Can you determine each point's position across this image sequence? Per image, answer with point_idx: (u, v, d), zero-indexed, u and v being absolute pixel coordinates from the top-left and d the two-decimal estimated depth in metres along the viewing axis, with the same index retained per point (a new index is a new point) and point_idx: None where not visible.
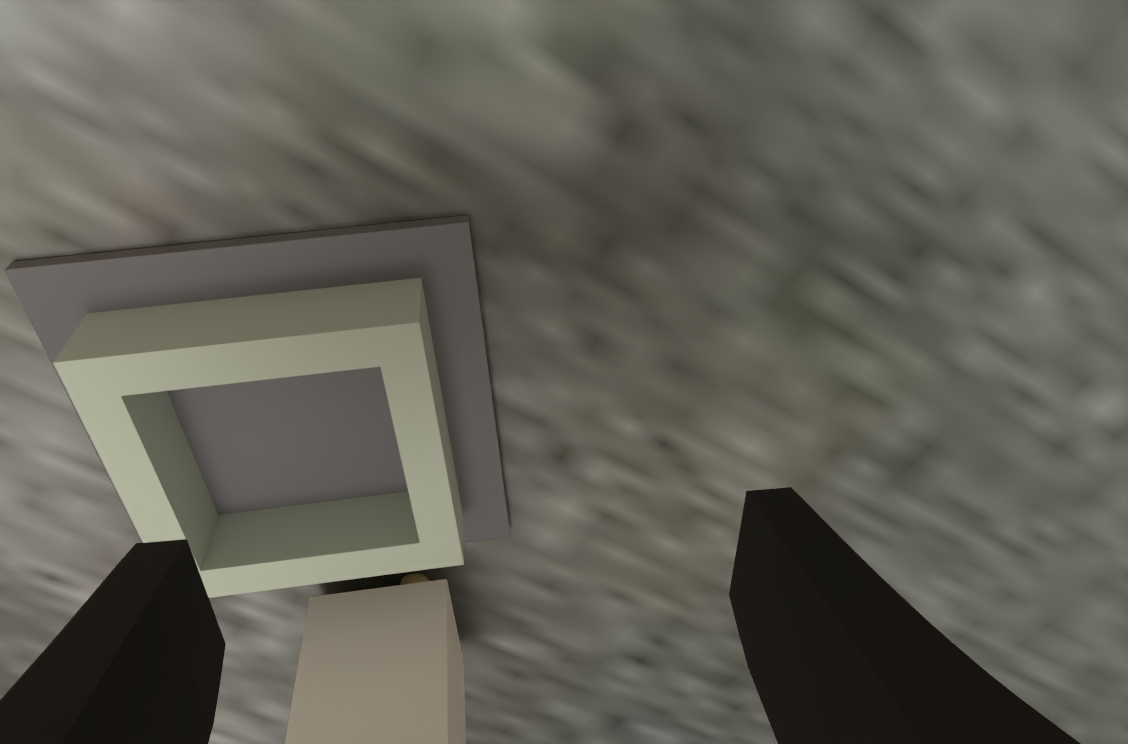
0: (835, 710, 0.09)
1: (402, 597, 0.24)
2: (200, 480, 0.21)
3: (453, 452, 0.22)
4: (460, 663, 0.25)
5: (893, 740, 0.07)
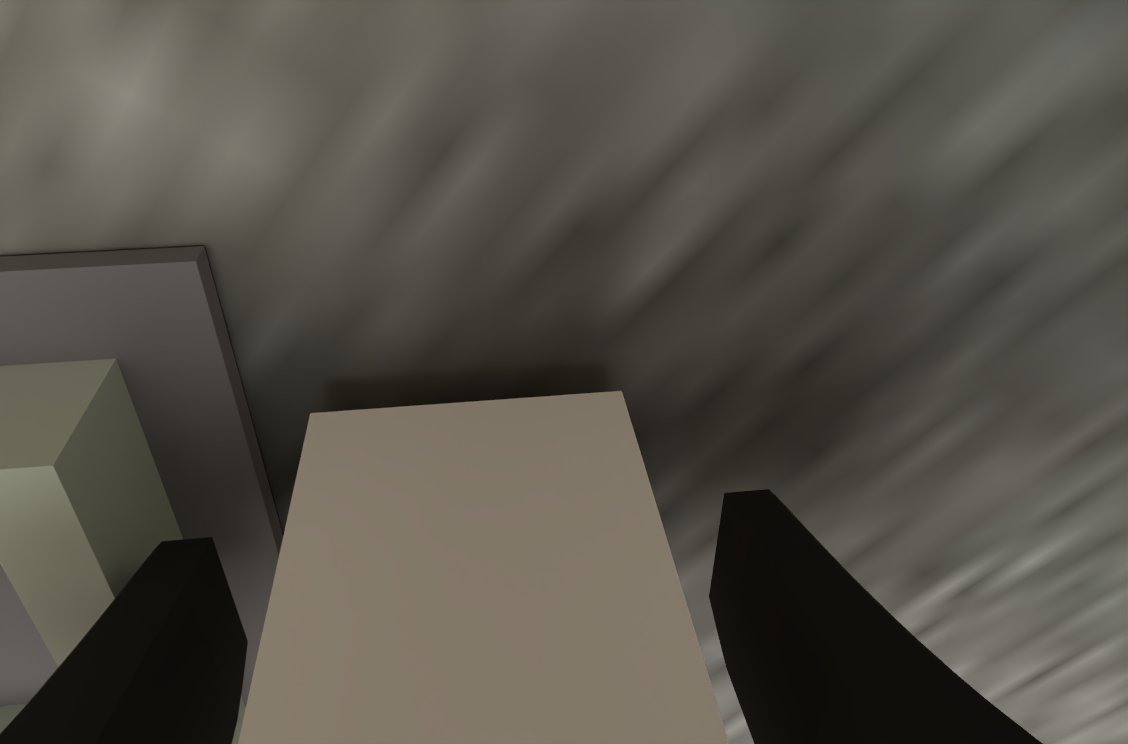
0: (808, 713, 0.09)
1: None
2: None
3: None
4: (554, 431, 0.10)
5: None
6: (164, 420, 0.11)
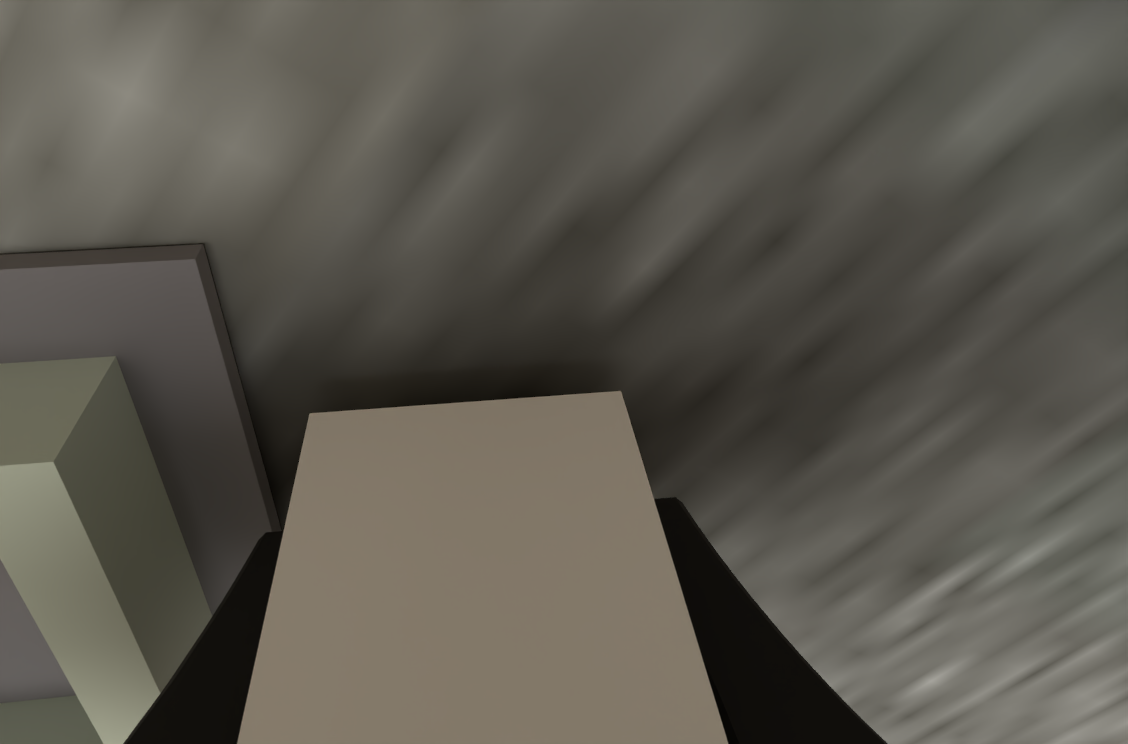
0: None
1: None
2: (79, 704, 0.13)
3: None
4: (553, 431, 0.10)
5: None
6: (163, 417, 0.11)
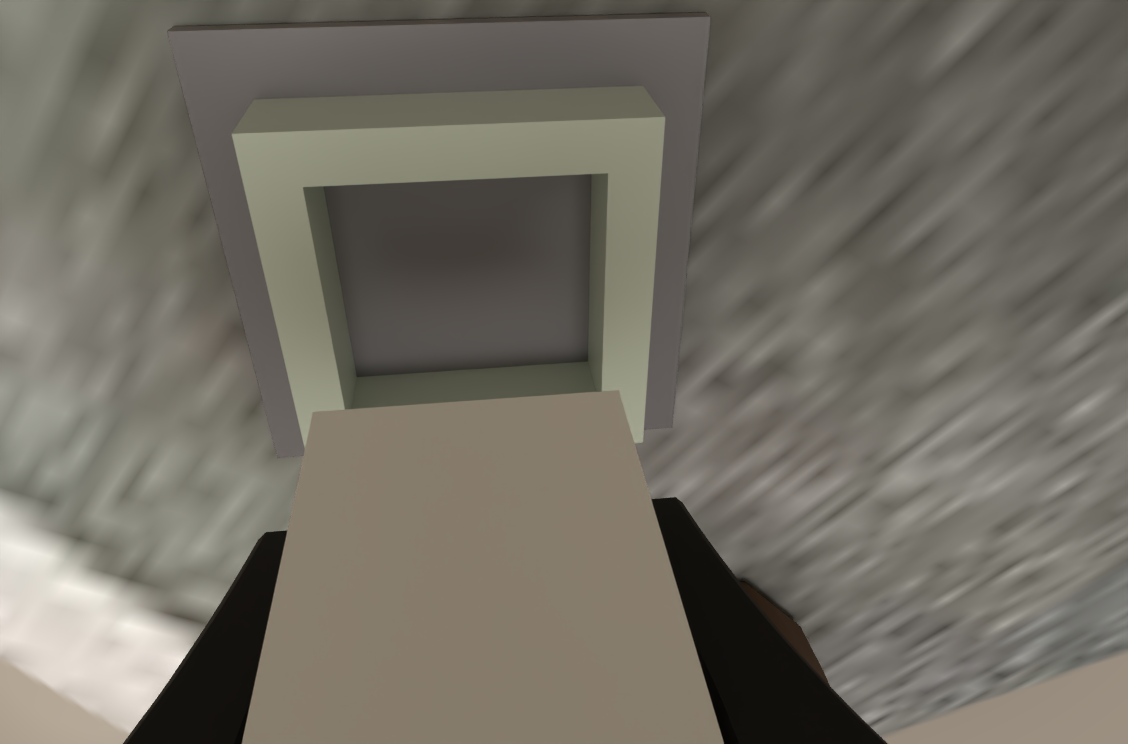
0: None
1: None
2: (530, 369, 0.20)
3: (534, 87, 0.16)
4: (552, 429, 0.10)
5: None
6: None
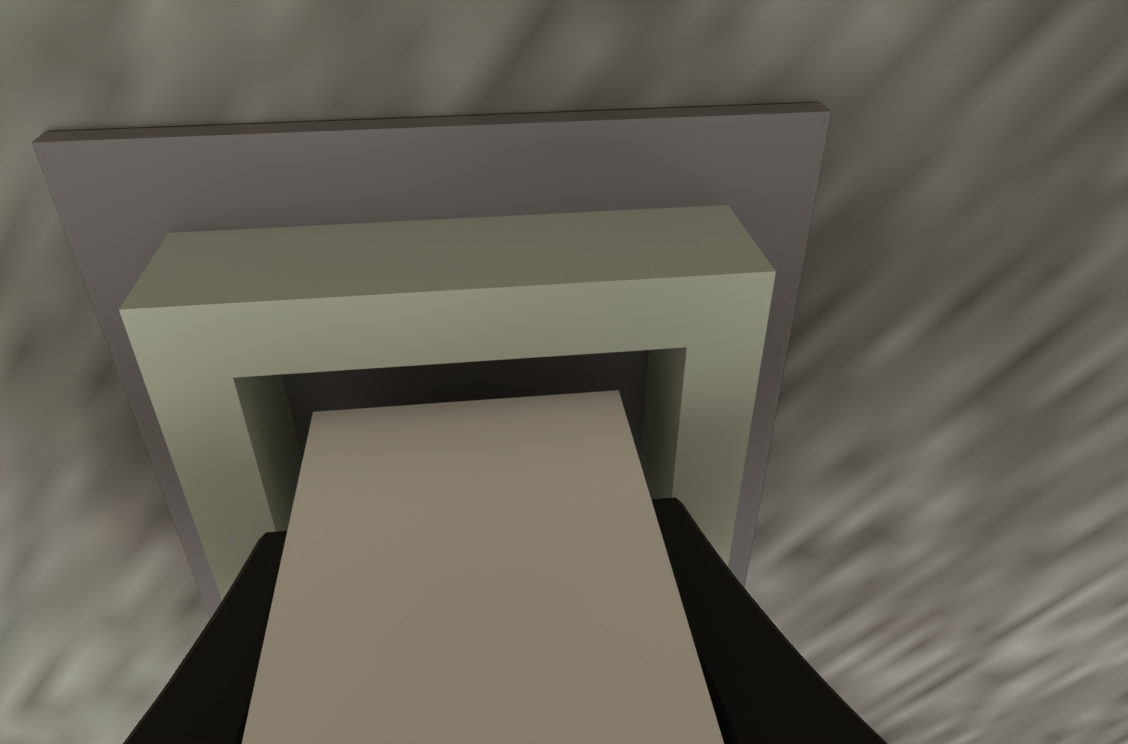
0: None
1: None
2: None
3: (574, 209, 0.11)
4: (552, 429, 0.10)
5: None
6: None
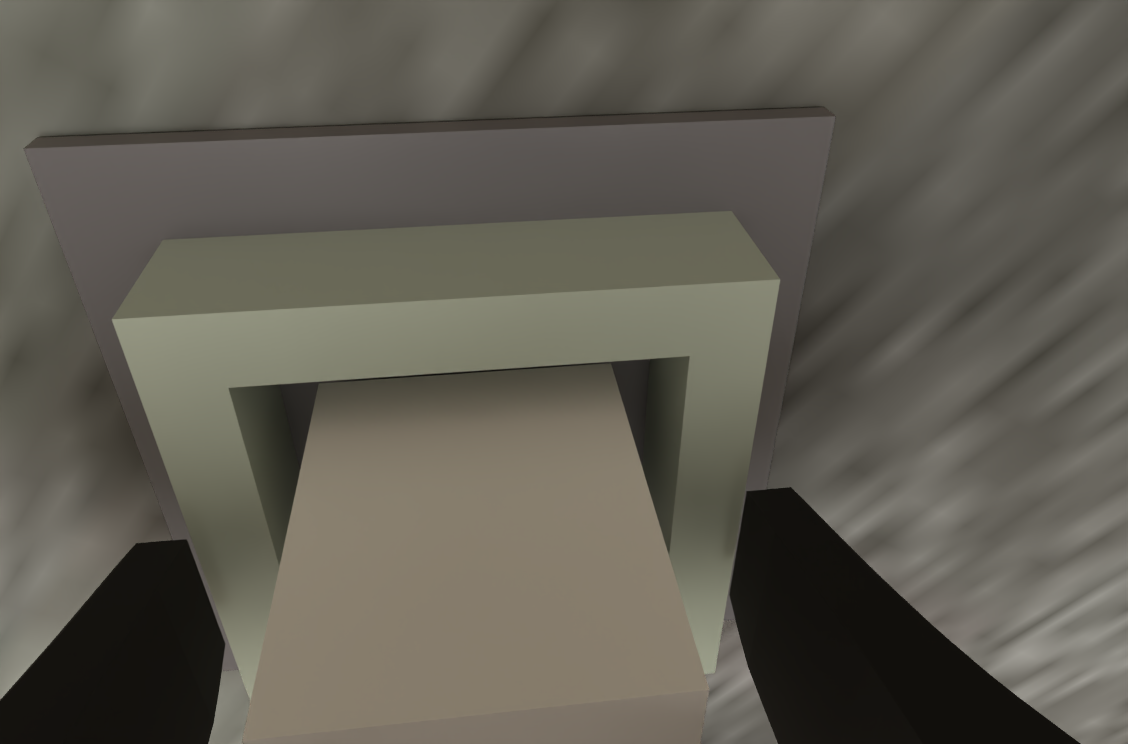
0: (836, 710, 0.09)
1: None
2: None
3: (575, 215, 0.11)
4: (547, 399, 0.11)
5: (893, 740, 0.07)
6: None
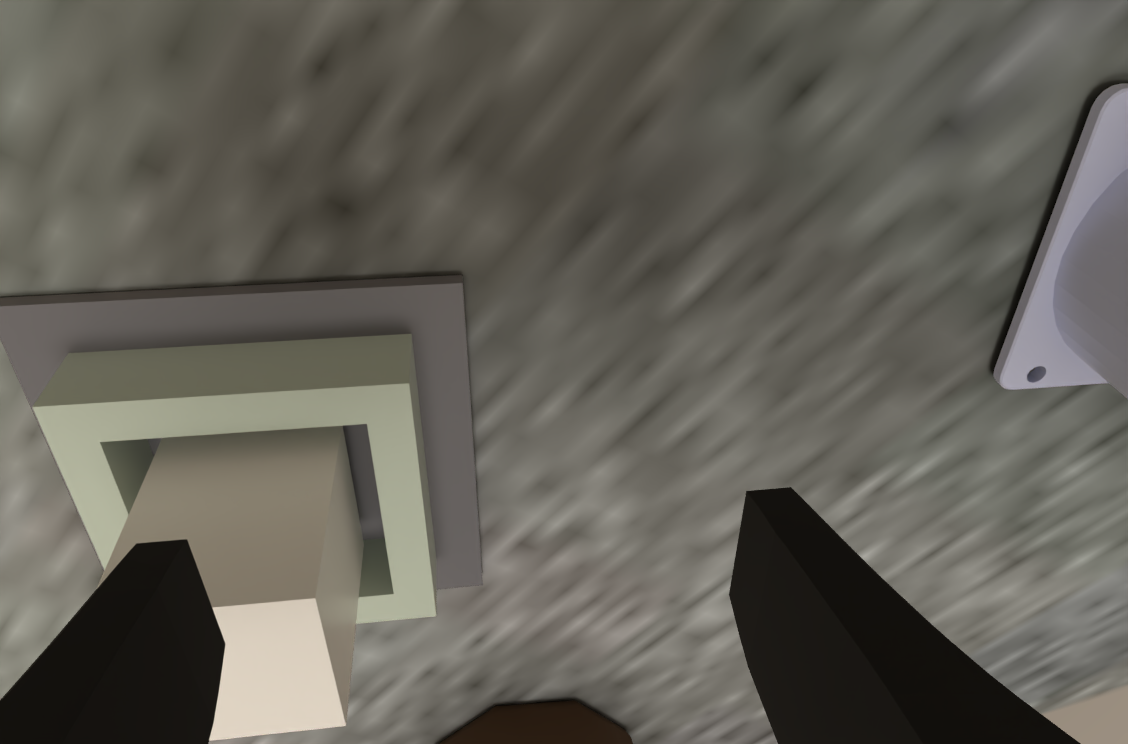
0: (836, 710, 0.09)
1: None
2: None
3: (315, 337, 0.19)
4: (294, 446, 0.19)
5: (893, 740, 0.07)
6: (428, 368, 0.20)
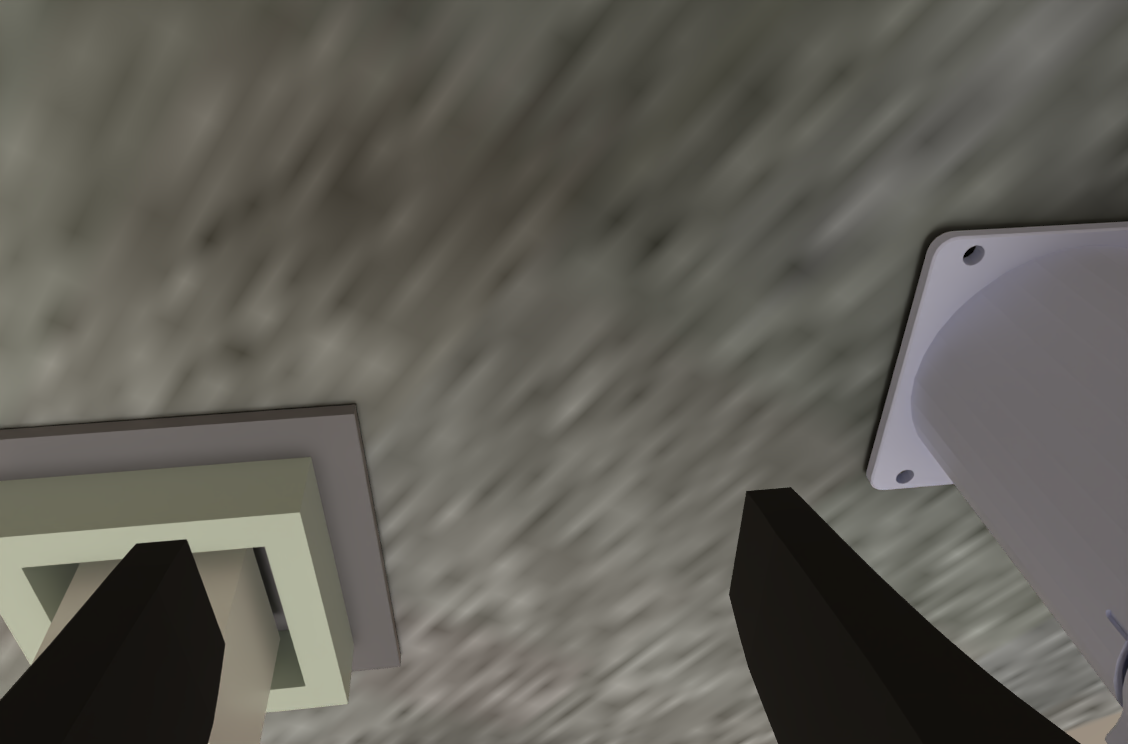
0: (835, 711, 0.09)
1: None
2: None
3: (221, 462, 0.21)
4: (203, 563, 0.20)
5: (893, 740, 0.07)
6: (329, 485, 0.21)
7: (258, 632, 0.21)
